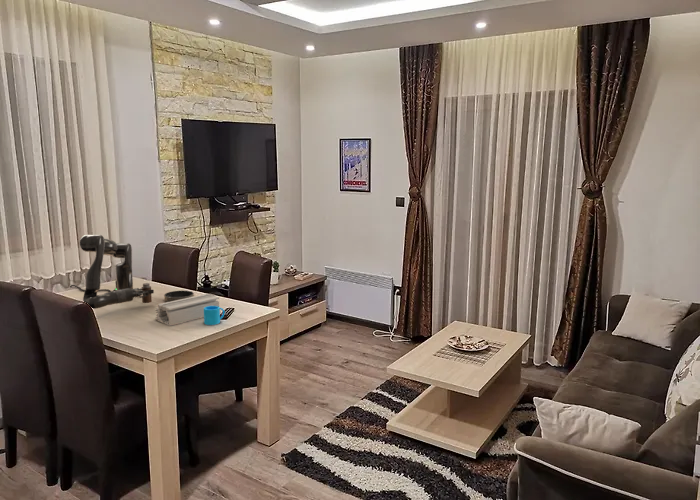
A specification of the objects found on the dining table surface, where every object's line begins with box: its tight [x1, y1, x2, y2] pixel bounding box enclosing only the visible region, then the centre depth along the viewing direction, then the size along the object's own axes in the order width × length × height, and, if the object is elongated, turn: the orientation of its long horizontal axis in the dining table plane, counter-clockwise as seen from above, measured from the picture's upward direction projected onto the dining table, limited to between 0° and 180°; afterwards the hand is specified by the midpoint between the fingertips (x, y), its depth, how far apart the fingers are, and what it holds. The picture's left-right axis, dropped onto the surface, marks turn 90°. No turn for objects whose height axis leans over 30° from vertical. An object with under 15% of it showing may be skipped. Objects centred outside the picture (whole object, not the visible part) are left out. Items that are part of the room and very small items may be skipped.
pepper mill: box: [140, 282, 153, 304], centre depth 292 cm, size 5×5×11 cm
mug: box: [203, 305, 226, 326], centre depth 268 cm, size 12×8×8 cm
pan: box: [163, 290, 195, 303], centre depth 309 cm, size 17×17×4 cm
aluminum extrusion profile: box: [154, 293, 220, 327], centre depth 276 cm, size 14×31×10 cm, turn 140°
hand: (150, 290), depth 294 cm, fingers closed on pepper mill, 5 cm apart
